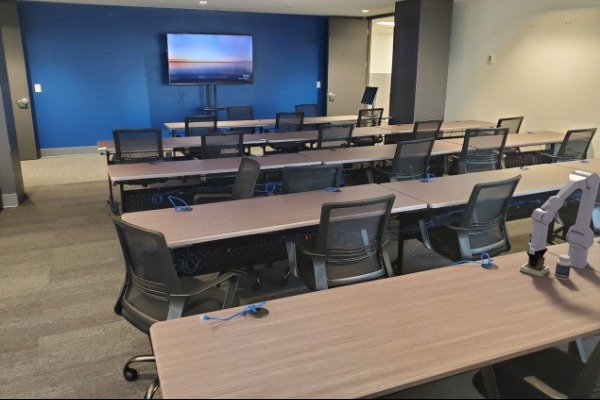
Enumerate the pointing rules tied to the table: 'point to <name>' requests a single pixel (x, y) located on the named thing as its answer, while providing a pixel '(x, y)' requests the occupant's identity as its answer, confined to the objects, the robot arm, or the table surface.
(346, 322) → the table surface
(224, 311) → the table surface
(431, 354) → the table surface
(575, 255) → the robot arm
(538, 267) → the walnut block
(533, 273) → the tray
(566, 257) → the pill bottle
